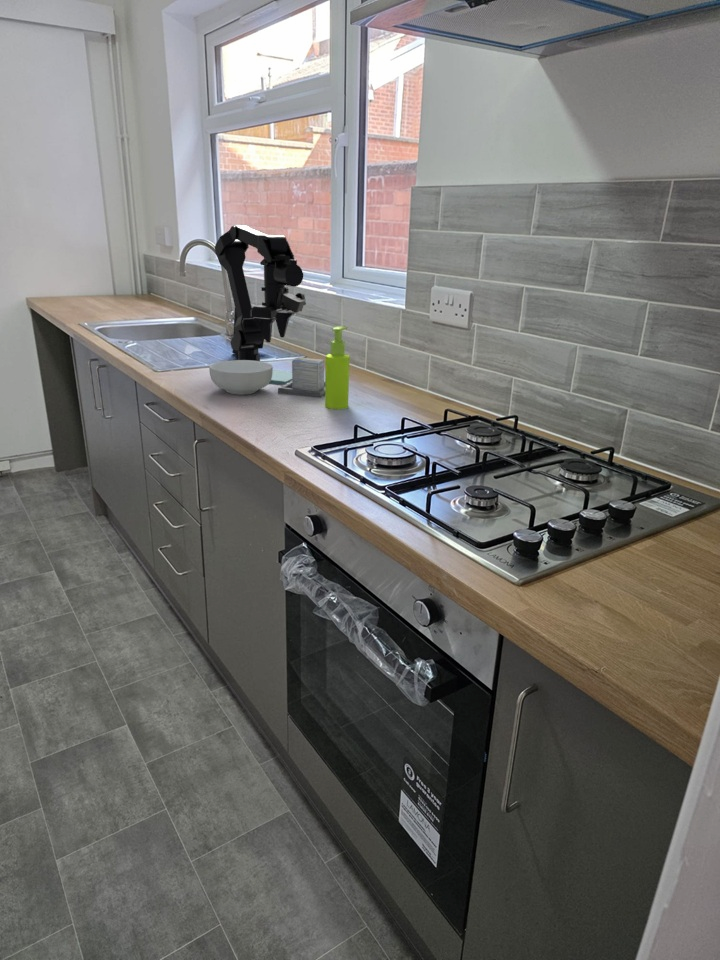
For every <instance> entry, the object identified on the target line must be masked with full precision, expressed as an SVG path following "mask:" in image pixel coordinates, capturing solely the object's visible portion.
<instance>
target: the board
mask: <svg viewBox="0 0 720 960" xmlns="http://www.w3.org/2000/svg"><path fill="white" fill-rule="evenodd" d="M290 381H292V371H287V370H280V369H279V370H278V369H273V373H272V378H271V381H270V382H269V384H272V385H273V384H274V385H281V386H283V385H285V384H287V383H289V382H290Z"/></svg>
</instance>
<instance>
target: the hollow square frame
mask: <svg viewBox="0 0 720 960" xmlns="http://www.w3.org/2000/svg"><path fill="white" fill-rule="evenodd" d="M277 389H278V391H277V393H278V394H284V395H292V396H300V397H301V396H303V397H311V398H322V397H323V396H324V397H325V381H324V388H323V389H321V390H319V391H310V390H302V389H293V388H292V381H290V382H289V383H287V384H285V385H280V386H278V388H277Z"/></svg>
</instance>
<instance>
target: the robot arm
mask: <svg viewBox="0 0 720 960" xmlns="http://www.w3.org/2000/svg"><path fill="white" fill-rule="evenodd" d="M249 246H250V247H253V248H255V249H257V253H258V254H259V255H260V256H262V257H263V259H262V260H260V263H259V264H260V265H261V266H263V285H264V286H261V287H260V289H261V292H264V293H263V294H264V295H263V296H264V301H261V304H259V305H255V306H254V305H253V306H252V302H251V299H250V298H251V297H250V293H249V290H248V286H247V281H246V280H247V279H246V276H245V272H244V264H245V261H246V253H247V251H248V249H249V248H250V247H249ZM214 252H215V254H216V256H217V260H218V263H219V264H220V265H221V266H222V268H224V269H225V271H226V273H227V278H228V282H229V288H230V291H231V295H232V299H233V300H232V301H233V303H234V310H235V309H236V313H237V321H236V324H235V327H234V326H233V329H234V328H235V334H234V336H232V338H231V339H230V342H229V343H230V347H231V348H230V349H232V350H233V349H234V350H236V354H235V358H236V359H235V360H252V361H261V354H260V353H259V349H260V350H261V349H263V348H264V344H265V343H264V342H266V343H271V341H272V331H273V323H274V322H276V326H277V330H278V334H279V336H280V338H285V337H286V336H285V335H286V332H287V329H288V324H289V322H290V319H291V318H292V317H293V316H294V315H295V314H297V313H299V312H302V311H303V308H304V307H305V306H306V305H307V302H306V297H305V294H304V293H302V292H297V293H296V294H293V293H290V292H289V288H288V287H298V286H300V284H301V283H303V280H304V272H303V269H302V267H301V266H299V264H298V260H297V259H295V255H294V253H293V252H292V248H291V246H290V244H289V241H288V239H287V237H286V236H285V235H278V234H277V235H276V234H266V233H263V232H262V231H261V232H260V231H259V230H257V229H254V228H251V227H250V226H248V225H246V224H245V225H244V224H243V225H241V224H234V225H232V226H231V227H230V229H228V231H227V232H225V233H223V234H222V235H220V236H219V238H218V240H217V241H216V243H215V245H214ZM264 338H265V339H264Z"/></svg>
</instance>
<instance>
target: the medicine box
mask: <svg viewBox="0 0 720 960" xmlns="http://www.w3.org/2000/svg"><path fill="white" fill-rule="evenodd" d="M291 372H292V388H293V389H302V390H310V391H319V390H321V389H323V388H324V382H325V360H324V359H318V358H307V357H296V358H294V359H292V360H291Z"/></svg>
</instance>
